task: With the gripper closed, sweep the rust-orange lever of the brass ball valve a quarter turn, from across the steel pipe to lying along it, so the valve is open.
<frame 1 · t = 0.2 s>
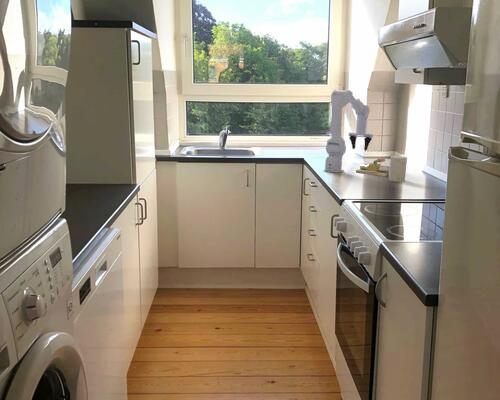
hand: (359, 149, 327), 10 cm above the worktop, fingers open, 7 cm apart
valve pipe: (374, 173, 306), resting on mount board
valve lever: (378, 161, 308), point 6 cm above the worktop, hinge at 0.0°
mount board: (374, 173, 306), on the worktop
cup: (396, 180, 286), on the worktop
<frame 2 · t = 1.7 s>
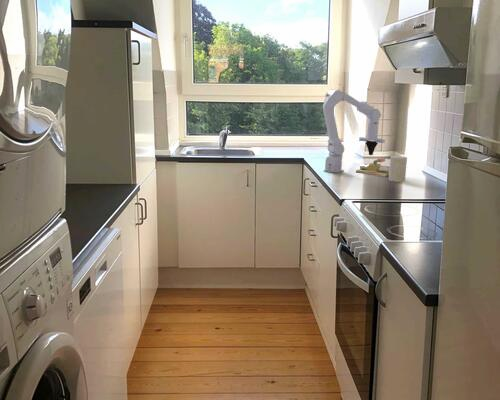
hand: (370, 154, 312), 9 cm above the worktop, fingers closed
nothing on the worktop moved.
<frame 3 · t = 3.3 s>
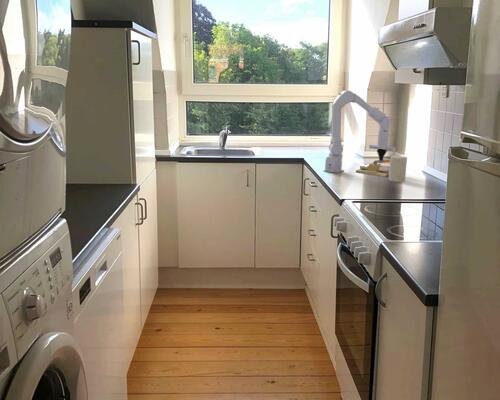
hand: (380, 162, 309), 5 cm above the worktop, fingers closed, pressing on valve lever
valve lever: (382, 161, 307), point 6 cm above the worktop, hinge at -25.4°, touching gripper
everything else where it was.
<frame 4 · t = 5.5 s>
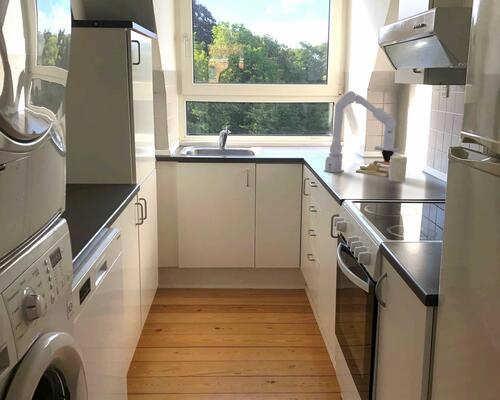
hand: (386, 164, 304), 5 cm above the worktop, fingers closed
valve lever: (383, 163, 301), point 6 cm above the worktop, hinge at -93.9°
everything else where it was.
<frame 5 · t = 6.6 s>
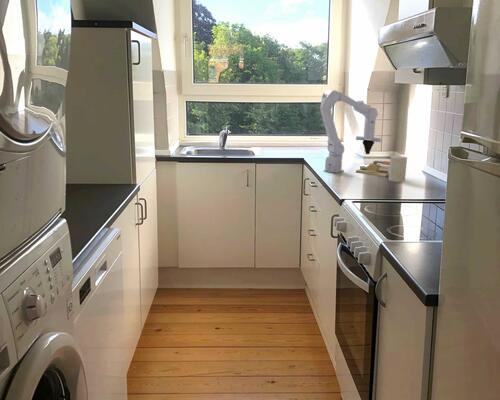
hand: (367, 154, 312), 9 cm above the worktop, fingers closed
nothing on the worktop moved.
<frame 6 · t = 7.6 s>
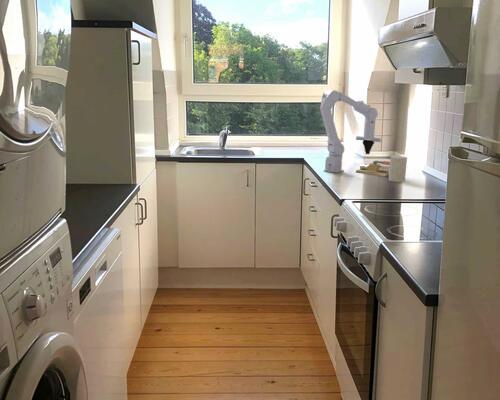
hand: (367, 154, 312), 9 cm above the worktop, fingers closed
nothing on the worktop moved.
at the end: valve lever at -94° (first picture: +0°); cup moved 0.2 cm from its start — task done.
